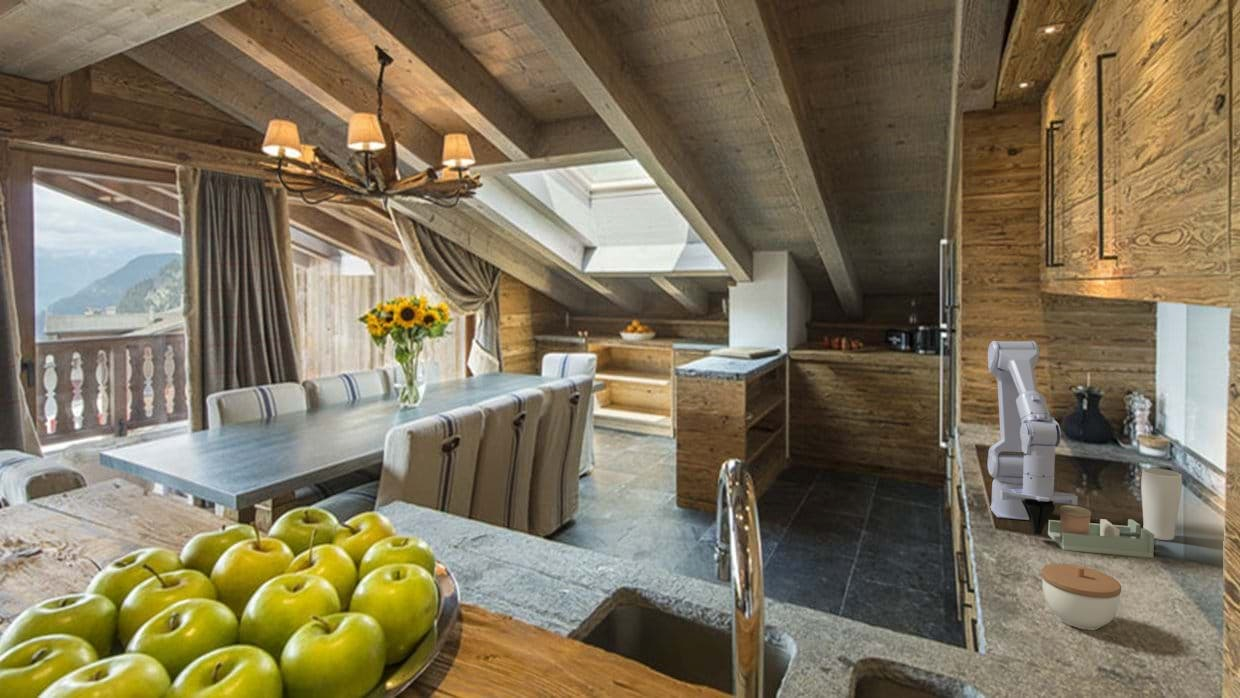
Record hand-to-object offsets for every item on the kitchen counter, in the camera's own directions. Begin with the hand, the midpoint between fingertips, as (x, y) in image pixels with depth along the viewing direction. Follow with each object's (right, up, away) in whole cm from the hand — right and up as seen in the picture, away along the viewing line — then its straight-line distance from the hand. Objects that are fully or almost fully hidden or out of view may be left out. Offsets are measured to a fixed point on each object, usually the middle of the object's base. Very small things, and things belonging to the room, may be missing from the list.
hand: (1036, 532), depth 135 cm
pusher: (+16, -1, -5) cm, 17 cm away
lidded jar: (-16, -5, -33) cm, 37 cm away
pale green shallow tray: (+11, -2, -3) cm, 12 cm away
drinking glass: (+28, -1, +1) cm, 28 cm away
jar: (+7, -1, -2) cm, 7 cm away
